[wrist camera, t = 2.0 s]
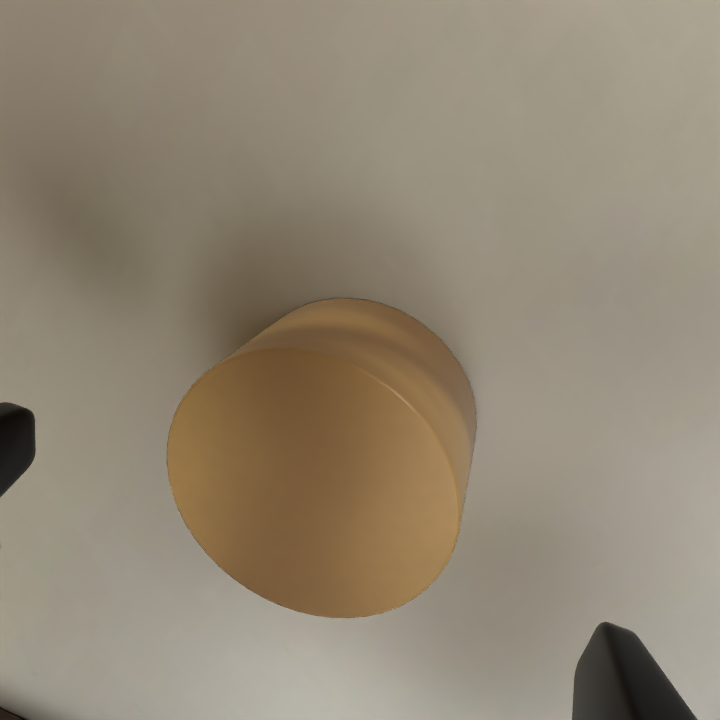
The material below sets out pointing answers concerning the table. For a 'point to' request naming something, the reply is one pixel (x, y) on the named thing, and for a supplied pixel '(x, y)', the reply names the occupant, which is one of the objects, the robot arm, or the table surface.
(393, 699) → the table surface
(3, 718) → the compartment tray
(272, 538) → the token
